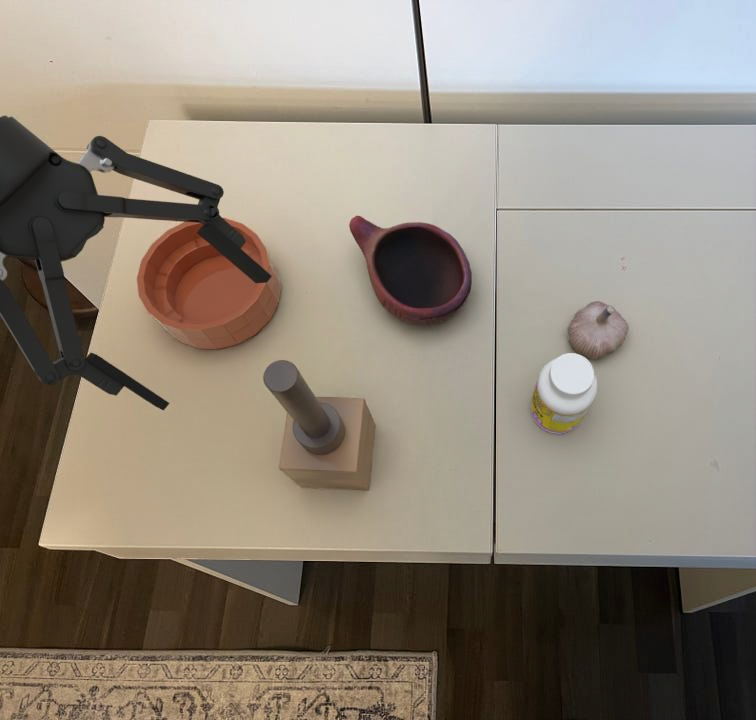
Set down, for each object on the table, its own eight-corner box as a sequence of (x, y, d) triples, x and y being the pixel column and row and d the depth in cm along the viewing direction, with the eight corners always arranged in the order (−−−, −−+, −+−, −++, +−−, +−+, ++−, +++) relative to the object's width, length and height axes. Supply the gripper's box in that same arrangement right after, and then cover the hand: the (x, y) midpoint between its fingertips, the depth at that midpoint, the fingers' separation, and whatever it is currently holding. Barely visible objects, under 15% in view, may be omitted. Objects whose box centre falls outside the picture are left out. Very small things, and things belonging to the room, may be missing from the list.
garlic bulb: (624, 314, 86) (639, 285, 79) (623, 366, 83) (639, 341, 76) (567, 309, 86) (576, 279, 79) (564, 360, 83) (574, 334, 76)
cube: (300, 487, 77) (278, 468, 67) (309, 421, 80) (289, 395, 70) (369, 490, 77) (356, 472, 67) (375, 424, 80) (364, 398, 70)
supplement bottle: (530, 382, 82) (541, 341, 70) (582, 385, 82) (603, 344, 70) (529, 434, 80) (540, 401, 68) (583, 436, 80) (604, 404, 68)
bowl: (477, 255, 89) (478, 221, 82) (465, 341, 84) (465, 313, 77) (359, 242, 89) (350, 207, 82) (341, 327, 84) (330, 298, 77)
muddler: (313, 464, 68) (268, 415, 52) (290, 426, 69) (240, 368, 53) (353, 438, 69) (321, 383, 53) (330, 402, 70) (292, 338, 54)
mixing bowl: (192, 373, 82) (170, 353, 76) (140, 281, 86) (116, 256, 80) (303, 310, 85) (291, 287, 79) (248, 225, 90) (232, 197, 84)
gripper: (83, 48, 52) (285, 236, 63) (-182, 287, 44) (106, 454, 55) (100, 16, 46) (319, 229, 57) (-202, 286, 38) (124, 473, 49)
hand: (215, 340), depth 56 cm, fingers open, 13 cm apart
